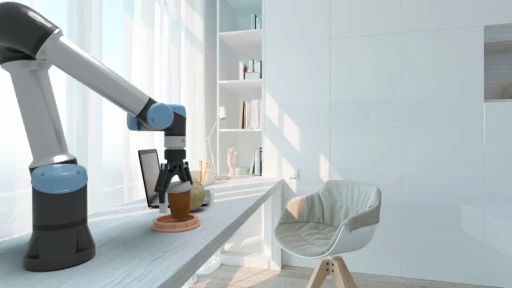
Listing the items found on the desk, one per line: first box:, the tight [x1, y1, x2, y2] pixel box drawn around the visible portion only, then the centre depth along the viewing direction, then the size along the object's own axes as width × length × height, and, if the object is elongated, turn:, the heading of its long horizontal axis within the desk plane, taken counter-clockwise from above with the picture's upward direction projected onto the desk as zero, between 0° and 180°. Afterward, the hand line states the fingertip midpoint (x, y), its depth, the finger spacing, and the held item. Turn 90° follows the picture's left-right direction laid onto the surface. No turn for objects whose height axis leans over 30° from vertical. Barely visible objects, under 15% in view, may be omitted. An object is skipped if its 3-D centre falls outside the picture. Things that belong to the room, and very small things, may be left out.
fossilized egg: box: [189, 175, 206, 213], centre depth 127 cm, size 13×13×15 cm
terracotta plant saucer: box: [150, 213, 201, 234], centre depth 105 cm, size 17×17×2 cm
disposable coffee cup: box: [166, 180, 192, 219], centre depth 107 cm, size 10×10×12 cm
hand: (175, 208), depth 105 cm, fingers open, 13 cm apart
